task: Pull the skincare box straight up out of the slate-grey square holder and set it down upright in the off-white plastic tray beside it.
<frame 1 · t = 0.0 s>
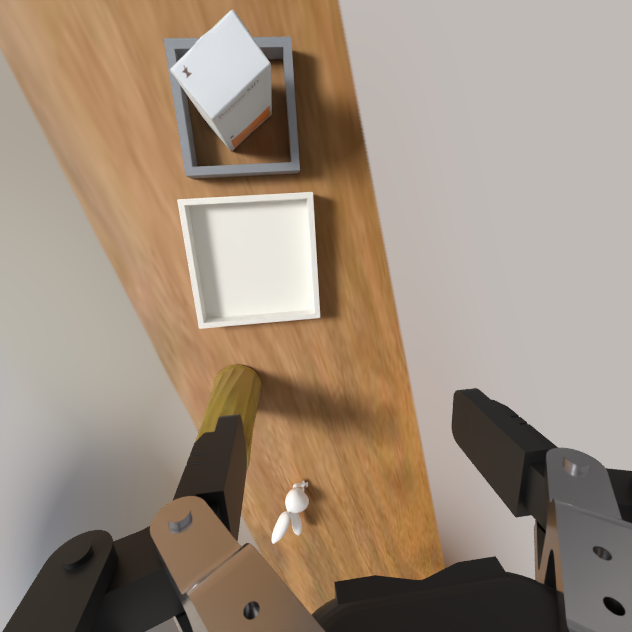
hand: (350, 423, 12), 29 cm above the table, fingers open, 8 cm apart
holder: (239, 116, 35), on the table
rabbit figurine: (291, 498, 49), on the table
vase: (238, 385, 43), on the table
skincare box: (239, 117, 35), resting in holder
tray: (255, 260, 39), on the table
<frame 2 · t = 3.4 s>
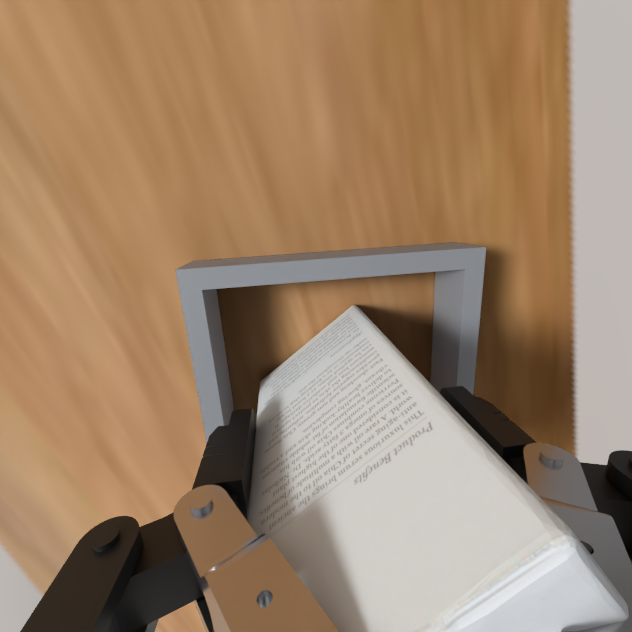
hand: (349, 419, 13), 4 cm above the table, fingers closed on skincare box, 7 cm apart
holder: (333, 370, 16), on the table
skincare box: (333, 368, 16), resting in holder, touching gripper
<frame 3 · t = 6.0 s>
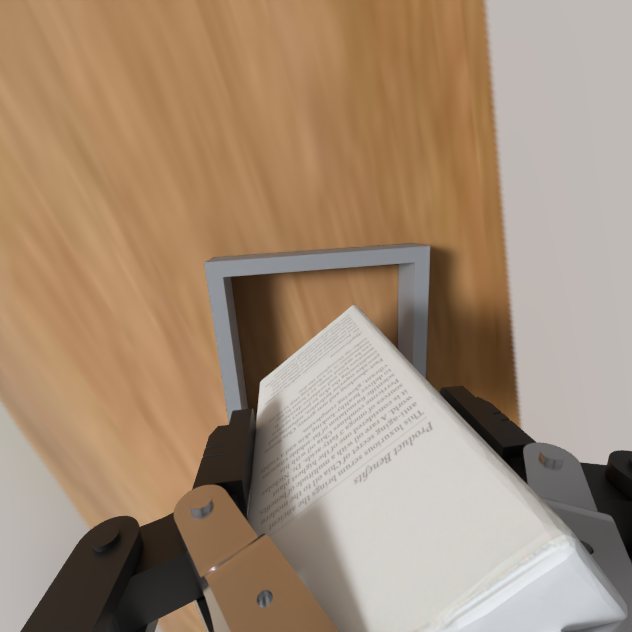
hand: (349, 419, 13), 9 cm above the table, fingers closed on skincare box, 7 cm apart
holder: (321, 343, 21), on the table
skincare box: (333, 368, 16), point 4 cm above the table, touching gripper
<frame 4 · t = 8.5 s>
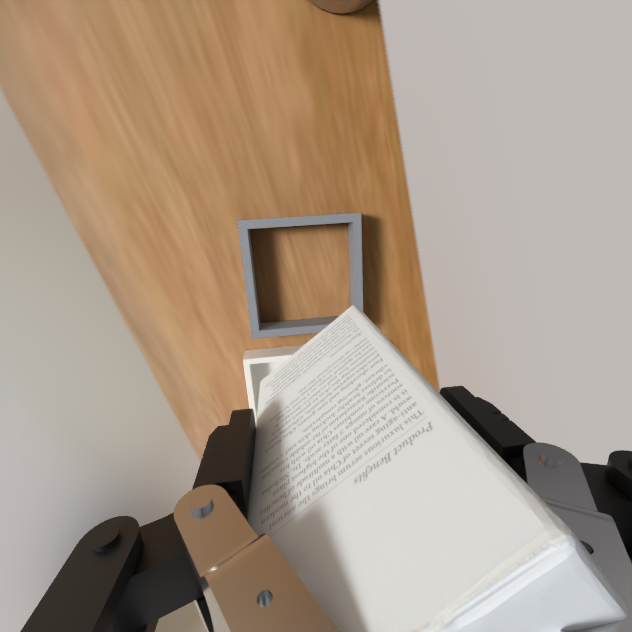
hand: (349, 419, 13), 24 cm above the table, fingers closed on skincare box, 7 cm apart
holder: (302, 273, 35), on the table
skincare box: (333, 368, 16), point 20 cm above the table, touching gripper
tray: (312, 399, 39), on the table
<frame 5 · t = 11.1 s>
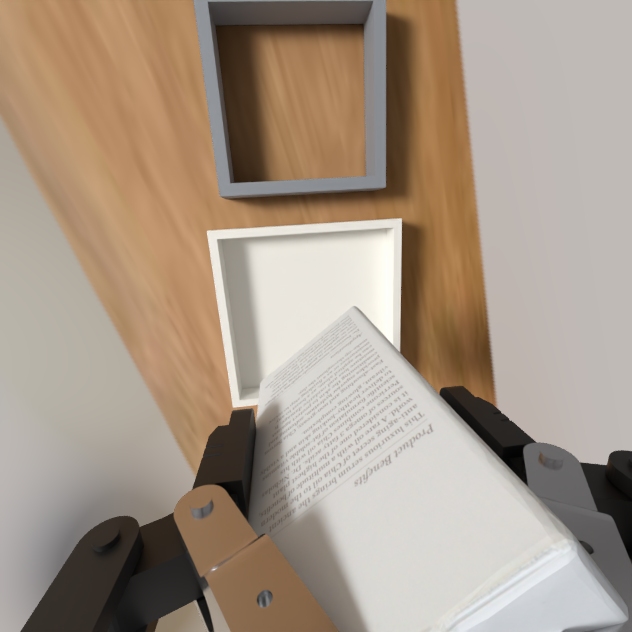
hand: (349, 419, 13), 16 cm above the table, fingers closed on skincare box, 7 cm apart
holder: (296, 108, 24), on the table
skincare box: (333, 369, 16), point 12 cm above the table, touching gripper
tray: (310, 309, 28), on the table
when the fingers open (6 cm above the table, at t = 13.5 s): skincare box drops 2 cm, resting on tray.
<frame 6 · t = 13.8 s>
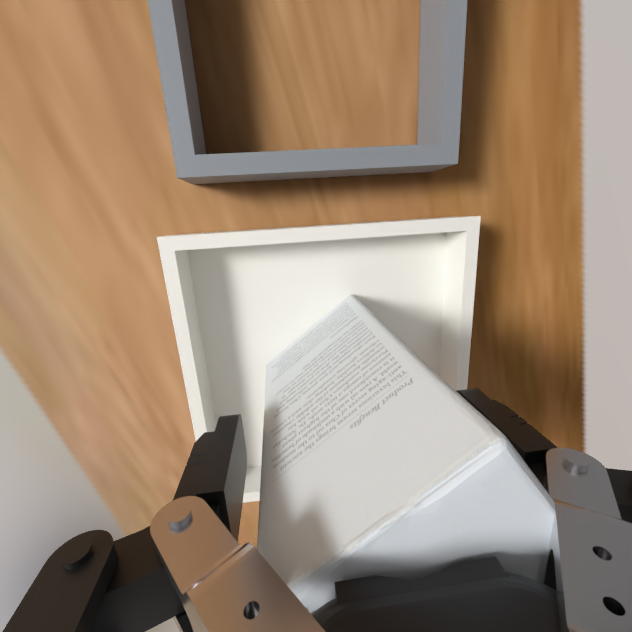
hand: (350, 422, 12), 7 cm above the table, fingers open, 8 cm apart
holder: (308, 33, 14), on the table
skincare box: (332, 353, 18), resting on tray
tray: (326, 354, 19), on the table
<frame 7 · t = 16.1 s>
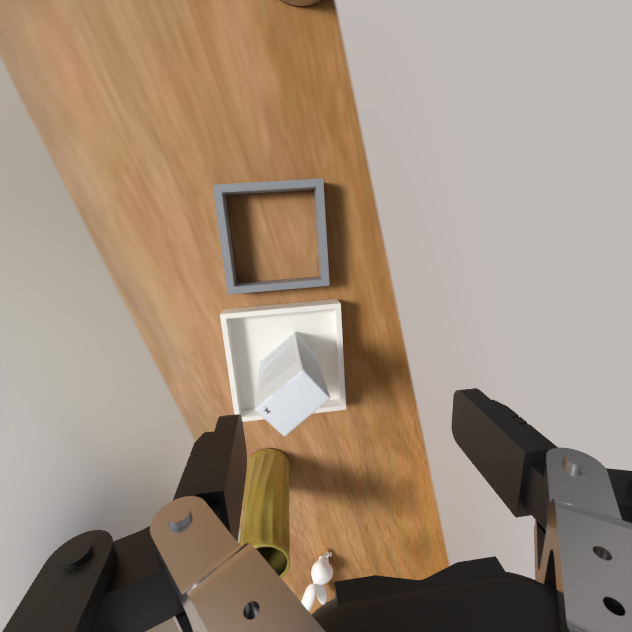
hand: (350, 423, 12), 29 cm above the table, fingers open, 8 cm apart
holder: (274, 237, 39), on the table
rabbit figurine: (315, 567, 52), on the table
vase: (268, 465, 47), on the table
skincare box: (288, 356, 42), resting on tray
tray: (286, 357, 43), on the table
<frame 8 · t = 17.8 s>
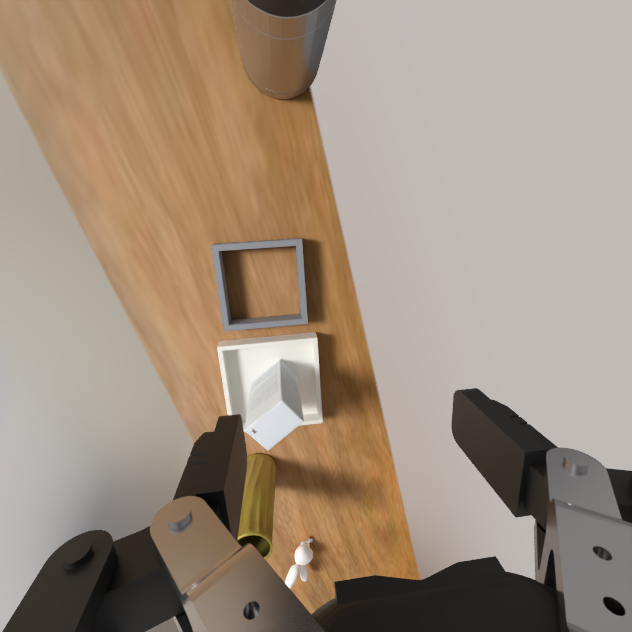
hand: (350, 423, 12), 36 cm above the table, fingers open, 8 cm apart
holder: (262, 282, 47), on the table
rabbit figurine: (298, 550, 61), on the table
vase: (258, 467, 55), on the table
skincare box: (275, 378, 50), resting on tray
tray: (273, 379, 51), on the table
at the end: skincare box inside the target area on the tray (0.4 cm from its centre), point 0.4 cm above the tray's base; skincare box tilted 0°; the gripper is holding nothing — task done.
